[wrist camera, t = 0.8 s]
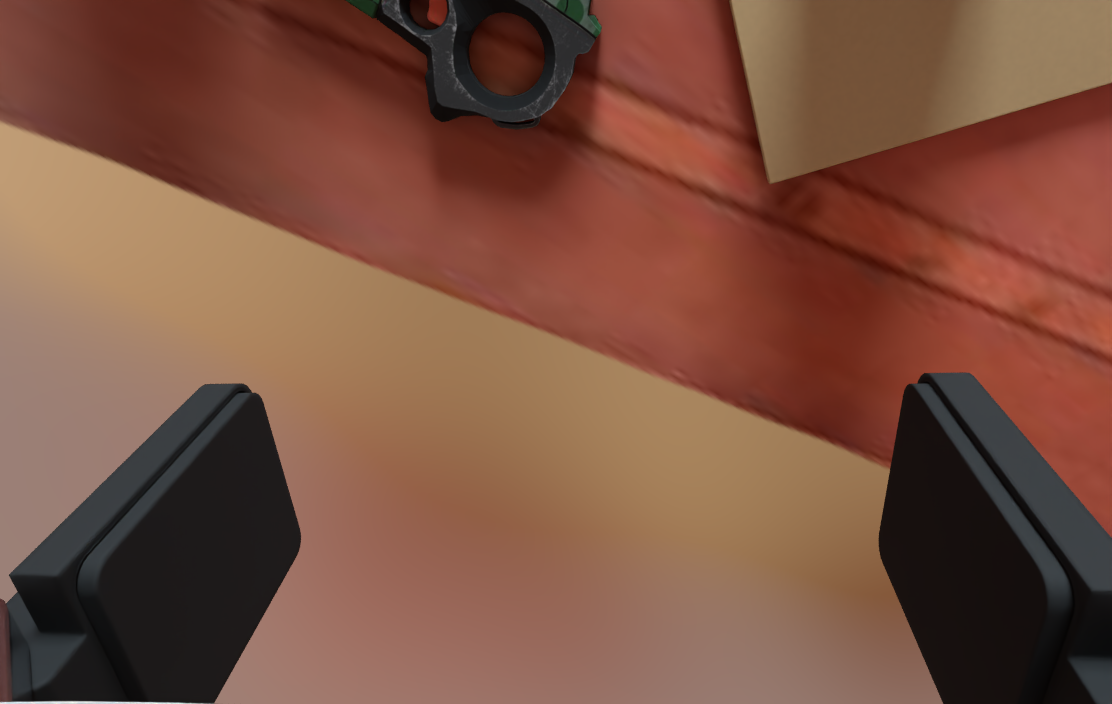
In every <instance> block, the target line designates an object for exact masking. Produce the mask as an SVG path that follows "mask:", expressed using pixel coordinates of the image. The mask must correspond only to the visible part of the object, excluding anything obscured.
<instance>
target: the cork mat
mask: <svg viewBox="0 0 1112 704" xmlns="http://www.w3.org/2000/svg"><path fill="white" fill-rule="evenodd" d="M729 3H730V8H731V13H732V17H733V22H734V27H735V31H736V36H737V41H738V45H739V50H740V55H741V59H742V64H743V68H744V73H745V78H746V82H747V87H748V92H749V96H750V101H751V106H752V110H753V115H754V120H755V124H756V129H757V134H758V138H759V143H760V148H761V152H762V157H763V162H764V166H765V171H766V176H767V180H768V182H769V184H773V183H776V182H780V181H783V180H786V179H790V178H793V177H796V176H800V175H803V174H807V173H810V172H813V171H817V170H820V169H823V168H827V167H830V166H834V165H837V164H840V163H844V162H847V161H850V160H854V159H857V158H861V157H864V156H867V155H871V154H874V153H877V152H881V151H884V150H887V149H891V148H894V147H898V146H901V145H904V144H908V143H911V142H914V141H918V140H921V139H925V138H928V137H931V136H935V135H938V134H941V133H945V132H948V131H952V130H955V129H958V128H962V127H965V126H968V125H972V124H975V123H979V122H982V121H985V120H989V119H992V118H995V117H999V116H1002V115H1006V114H1009V113H1012V112H1016V111H1019V110H1022V109H1026V108H1029V107H1033V106H1036V105H1039V104H1043V103H1046V102H1049V101H1053V100H1056V99H1060V98H1063V97H1066V96H1070V95H1073V94H1076V93H1080V92H1083V91H1087V90H1090V89H1093V88H1097V87H1100V86H1103V85H1107V84H1110V83H1112V0H729Z"/></svg>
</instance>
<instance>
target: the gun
mask: <svg viewBox="0 0 1112 704" xmlns="http://www.w3.org/2000/svg"><path fill="white" fill-rule="evenodd" d="M346 1H347V2H349V3H350V4H352V5H353V6H355V7H356V8H358V9H359V10H361V11H362V12H364V13H365V14H367V15H368V16H370V17H371V18H377V20H379V21H380V22H381V23H383V24H384V25H385V26H387V27H388V28H389V29H391V30H392V31H394V32H395V33H397V34H398V35H400V36H401V37H402V38H403V39H405V40H406V41H407V42H409V43H410V44H411V45H413V46H414V47H415V48H417V49H418V50H419V51H421V52H422V53H423V54H425V55H426V57H427V63H428V70H427V73H426V76H425V80H426V86H427V93H428V100H429V107H430V112H431V114H432V115H433V116H434V118H435V119H437V120H439V121H441V122H446V121H450V120H452V119H455V118H457V117H460V116H472V115H478V116H484V117H489V118H491V119H492V121H493V122H494V123H495V124H496V125H497V126H499V127H501V128H509V129H524V128H532V127H535V126H537V125H538V124H539V122H540V119H541V115H542V114H544V113H545V112H547V111H548V110H549V109H551V108H552V107H553V106H554V104H555V103H556V101H557V100H558V99H559V97H560V96H561V94H562V93H563V92H564V90H565V89H566V87H567V85H568V83H569V81H570V79H571V77H572V75H573V73H574V67H575V61H576V56H577V55H578V54H584V53H587V52H589V50H590V48H591V47H592V45H593V43H594V42H595V40H596V38H597V36H598V35H599V33H600V32H601V29H602V27H601V25H600V24H599V22H598V20H597V18H596V16H595V15H589V10H590V3H591V0H429V6H430V7H429V11H428V15H427V18H428V20H429V21H430V22H432V23H434V24H436V25H438V26H440V27H438V28H436V29H426V28H423V27H421V26H420V25H418V24H417V23H416V22H415V21H414V19H413V17H412V15H411V13H410V7H409V1H410V0H346ZM501 12H505V13H513V14H516V15H519V16H521V17H523V18H524V19H526V20H527V21H528V22H530V23H531V24H532V25H533V26H534V28H535V29H536V30H537V31H538V33H539V35H540V37H541V39H542V42H543V45H544V51H545V64H544V68H543V72H542V74H541V76H540V78H539V80H538V81H537V83H536V84H535V85H534V86H533V87H532V88H531V89H530V90H528V91H526V92H525V93H522V94H519V95H515V96H502V95H499V94H495V93H493V92H491V91H490V90H488V89H487V88H485V87H484V86H483V85H482V84H481V83H480V82H479V81H478V79H477V78H476V76H475V75H474V73H473V71H472V68H471V65H470V59H469V45H470V41H471V37H472V35H473V33H474V31H475V29H476V27H477V26H478V25H479V24H480V23H481V22H482V21H483V20H484V19H485V18H487V17H488V16H490V15H493V14H495V13H501ZM533 118H534V119H535V120H534V121H528V122H520V123H516V122H517V121H523V120H528V119H533Z"/></svg>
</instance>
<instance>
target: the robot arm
mask: <svg viewBox="0 0 1112 704" xmlns="http://www.w3.org/2000/svg"><path fill="white" fill-rule="evenodd" d="M300 543H301V533H300V528H299V525H298V521H297V518H296V514H295V511H294V507H293V504H292V500H291V497H290V493H289V490H288V486H287V483H286V479H285V476H284V472H283V469H282V466H281V462H280V459H279V455H278V452H277V449H276V445H275V442H274V438H273V435H272V431H271V428H270V424H269V421H268V417H267V414H266V410H265V407H264V403H263V401H262V398H261V397H260V396H259V395H258V394H256V393H252V392H251V390H250V389H249V388H248V386H247V385H244V384H205V385H203V386H202V387H200V388H199V389H198V390H197V391H196V392H195V393H194V394H193V395H192V396H191V397H190V398H189V399H188V400H187V401H186V402H185V403H184V404H183V405H182V406H181V407H180V408H179V409H178V410H177V411H176V412H174V413H173V414H172V415H171V416H170V417H169V418H168V419H167V420H166V421H165V422H164V423H163V424H162V425H161V426H160V427H159V428H158V429H157V430H156V431H155V432H154V433H153V434H152V435H151V436H150V437H149V438H148V439H147V440H146V441H145V442H144V443H143V444H142V445H141V446H140V447H139V448H138V449H137V450H136V451H135V452H134V453H133V454H132V455H131V456H130V457H129V458H128V459H127V460H126V461H125V462H124V463H122V465H120V467H118V468H117V469H116V470H115V472H113V473H112V474H111V475H110V476H109V477H108V478H107V479H106V480H105V481H104V482H103V483H102V484H101V485H100V486H99V487H98V488H97V489H96V490H95V491H94V492H93V493H92V494H91V495H90V496H89V497H88V498H87V499H86V500H85V501H84V502H83V503H82V504H81V505H80V506H79V507H78V508H77V509H76V510H75V511H74V512H73V513H72V514H71V515H70V516H68V518H67V519H65V520H64V521H63V522H62V523H61V524H60V525H59V526H58V527H57V528H56V529H55V530H54V531H53V532H52V533H51V534H50V535H49V536H48V537H47V538H46V539H45V540H44V541H43V542H42V543H41V544H40V545H39V546H38V547H37V548H36V549H35V550H34V551H33V552H32V553H31V554H30V555H29V556H28V557H27V558H26V559H25V560H24V561H23V562H22V563H21V564H20V565H19V566H18V567H16V568H15V569H14V570H13V572H11V573H10V574H9V576H10V578H11V580H12V582H13V584H14V585H15V587H16V589H17V591H18V592H17V593H16V594H15V595H14V596H13V597H12V598H11V599H10V600H9V601H8V602H7V603H5V601H4V600H2V599H0V704H214V702H215V700H216V699H217V697H218V695H219V693H220V691H221V690H222V688H223V686H224V684H225V682H226V681H227V679H228V677H229V675H230V674H231V672H232V670H233V668H234V667H235V665H236V663H237V661H238V660H239V658H240V656H241V654H242V652H243V651H244V649H245V647H246V645H247V644H248V642H249V640H250V638H251V636H252V635H253V633H254V631H255V629H256V628H257V626H258V624H259V622H260V620H261V619H262V617H263V615H264V613H265V612H266V610H267V608H268V606H269V604H270V603H271V601H272V599H273V597H274V595H275V594H276V592H277V590H278V588H279V586H280V585H281V583H282V581H283V579H284V578H285V576H286V574H287V572H288V571H289V569H290V567H291V565H292V564H293V562H294V560H295V558H296V556H297V554H298V552H299V548H300ZM879 551H880V556H881V559H882V562H883V565H884V567H885V569H886V571H887V574H888V576H889V579H890V581H891V583H892V586H893V588H894V590H895V593H896V595H897V597H898V599H899V602H900V604H901V606H902V609H903V611H904V613H905V616H906V618H907V620H908V623H909V625H910V627H911V630H912V632H913V634H914V637H915V639H916V641H917V643H918V646H919V648H920V650H921V653H922V655H923V658H924V660H925V662H926V665H927V667H928V669H929V672H930V674H931V676H932V679H933V681H934V683H935V685H936V688H937V690H938V692H939V695H940V697H941V699H942V702H943V704H1112V538H1111V537H1110V536H1109V535H1108V533H1107V532H1106V531H1105V530H1104V529H1103V527H1102V526H1101V525H1100V524H1099V523H1098V522H1097V520H1096V519H1095V518H1094V517H1093V516H1092V515H1091V513H1090V512H1089V511H1088V510H1087V509H1086V508H1085V506H1084V505H1083V504H1082V503H1081V502H1080V500H1079V499H1078V498H1077V497H1076V496H1075V495H1074V493H1073V492H1072V491H1071V490H1070V489H1069V488H1068V486H1067V485H1066V484H1065V483H1064V482H1063V480H1062V479H1061V478H1060V477H1059V476H1058V475H1057V473H1056V472H1055V471H1054V470H1053V469H1052V468H1051V466H1050V465H1049V464H1048V463H1047V462H1046V460H1045V459H1044V458H1043V457H1042V456H1041V455H1040V453H1039V452H1038V451H1037V450H1036V449H1035V448H1034V446H1033V445H1032V444H1031V443H1030V442H1029V440H1028V439H1027V438H1026V437H1025V436H1024V435H1023V433H1022V432H1021V431H1020V430H1019V429H1018V428H1017V426H1016V425H1015V424H1014V423H1013V422H1012V421H1011V419H1010V418H1009V417H1008V416H1007V415H1006V413H1005V412H1004V411H1003V410H1002V409H1001V408H1000V406H999V405H998V404H997V403H996V402H995V401H994V399H993V398H992V397H991V396H990V395H989V393H988V392H987V391H986V390H985V389H984V388H983V386H982V385H981V384H980V383H979V382H978V381H977V379H976V378H975V377H974V376H973V375H972V374H970V373H924V374H923V375H921V377H920V379H919V380H918V383H917V384H908V385H907V386H906V388H905V390H904V394H903V400H902V405H901V411H900V417H899V422H898V428H897V434H896V440H895V445H894V451H893V457H892V462H891V468H890V474H889V480H888V485H887V491H886V497H885V502H884V508H883V514H882V520H881V526H880V531H879Z"/></svg>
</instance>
